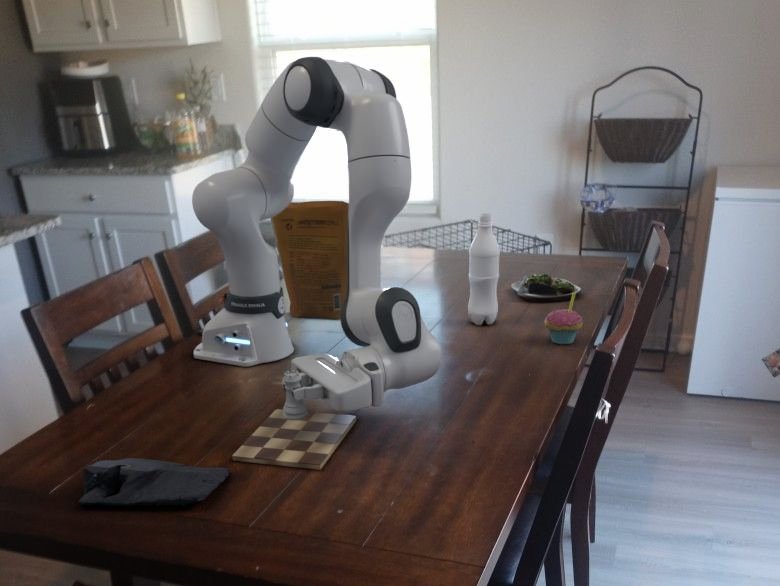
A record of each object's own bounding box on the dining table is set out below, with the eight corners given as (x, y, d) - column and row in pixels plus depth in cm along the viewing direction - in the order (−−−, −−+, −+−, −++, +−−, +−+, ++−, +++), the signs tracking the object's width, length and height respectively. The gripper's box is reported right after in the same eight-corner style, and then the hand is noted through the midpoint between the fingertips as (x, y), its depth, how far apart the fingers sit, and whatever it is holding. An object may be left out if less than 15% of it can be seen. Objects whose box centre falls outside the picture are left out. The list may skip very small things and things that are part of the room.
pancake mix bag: (351, 322, 206) (344, 203, 191) (278, 318, 210) (266, 201, 196) (359, 314, 212) (353, 197, 197) (288, 310, 216) (277, 196, 201)
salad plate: (497, 285, 230) (498, 268, 228) (558, 279, 233) (560, 262, 231) (522, 305, 214) (523, 287, 211) (587, 299, 217) (589, 281, 215)
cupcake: (585, 337, 192) (590, 285, 186) (576, 349, 186) (580, 295, 179) (548, 333, 195) (552, 281, 189) (538, 344, 189) (541, 291, 183)
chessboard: (232, 460, 144) (231, 455, 144) (276, 413, 161) (276, 408, 160) (320, 470, 140) (320, 464, 140) (356, 420, 157) (356, 415, 156)
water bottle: (496, 327, 200) (499, 218, 187) (466, 326, 201) (467, 217, 188) (498, 318, 206) (502, 211, 193) (469, 317, 207) (471, 211, 194)
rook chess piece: (288, 423, 145) (284, 379, 141) (279, 414, 149) (274, 371, 145) (312, 417, 147) (308, 374, 143) (302, 408, 151) (298, 366, 146)
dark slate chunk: (201, 518, 128) (197, 491, 125) (70, 507, 132) (63, 481, 129) (237, 471, 141) (233, 446, 138) (116, 463, 145) (110, 438, 142)
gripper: (332, 340, 157) (263, 355, 151) (386, 374, 141) (311, 392, 136) (334, 372, 160) (267, 388, 154) (387, 408, 145) (314, 427, 139)
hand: (288, 390), depth 145 cm, fingers closed on rook chess piece, 3 cm apart
